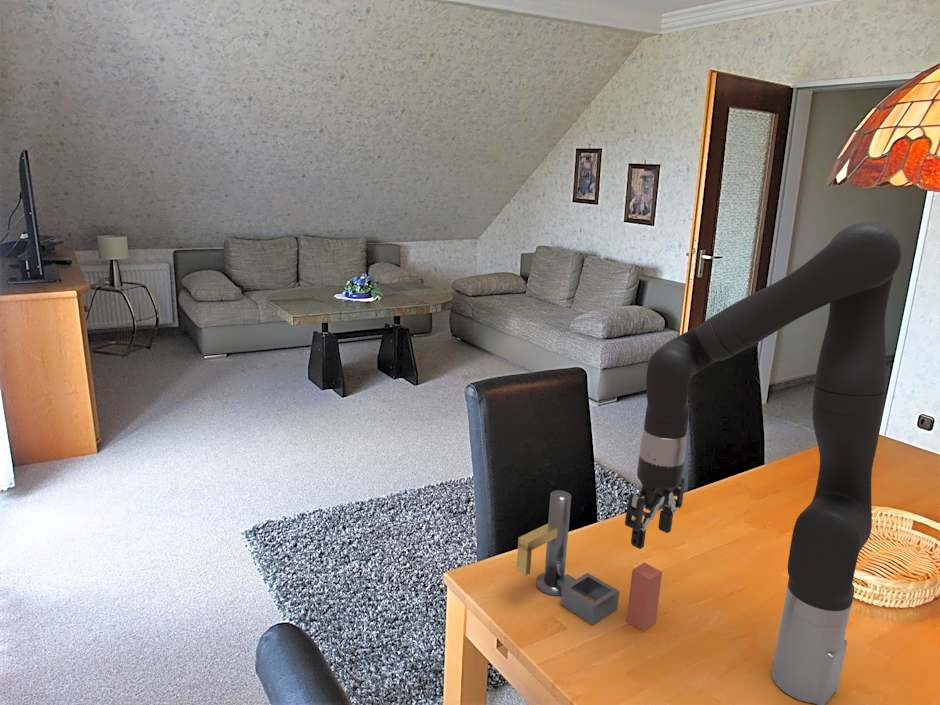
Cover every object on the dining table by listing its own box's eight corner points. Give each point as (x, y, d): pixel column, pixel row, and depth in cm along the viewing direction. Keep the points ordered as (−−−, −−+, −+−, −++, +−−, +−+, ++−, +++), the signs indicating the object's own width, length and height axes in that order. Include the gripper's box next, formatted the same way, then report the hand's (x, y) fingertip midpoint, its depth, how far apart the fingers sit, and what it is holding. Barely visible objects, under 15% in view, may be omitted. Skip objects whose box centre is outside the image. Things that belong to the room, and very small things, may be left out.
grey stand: (617, 609, 129) (627, 515, 124) (570, 640, 120) (579, 540, 115) (552, 570, 140) (559, 483, 135) (506, 596, 131) (511, 503, 126)
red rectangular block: (655, 623, 125) (662, 571, 122) (643, 632, 123) (650, 579, 120) (638, 613, 128) (644, 562, 125) (626, 621, 125) (632, 569, 122)
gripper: (657, 474, 109) (646, 562, 113) (703, 452, 118) (691, 534, 123) (619, 458, 114) (609, 542, 119) (665, 438, 124) (655, 517, 128)
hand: (651, 538), depth 121 cm, fingers open, 8 cm apart
